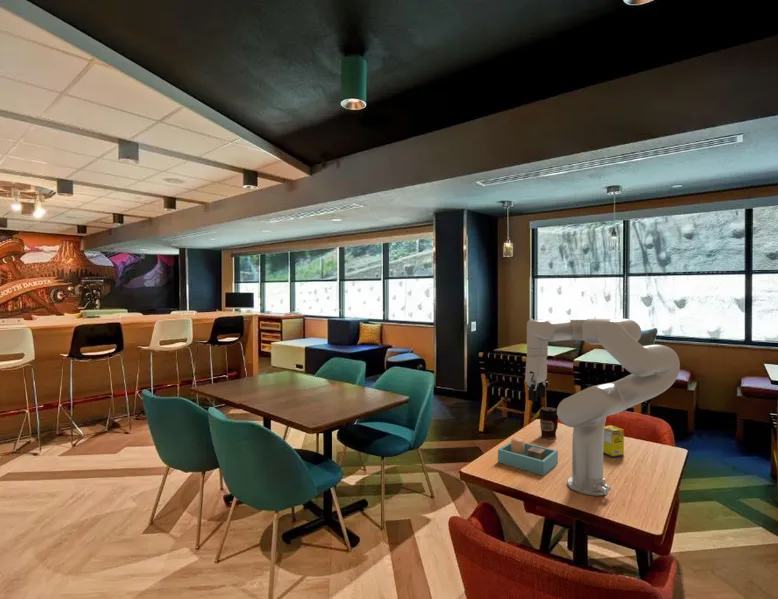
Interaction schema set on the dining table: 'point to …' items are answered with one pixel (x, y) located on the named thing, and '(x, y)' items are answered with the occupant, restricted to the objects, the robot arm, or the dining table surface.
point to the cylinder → (517, 446)
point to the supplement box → (613, 441)
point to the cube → (536, 453)
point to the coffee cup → (548, 422)
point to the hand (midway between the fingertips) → (536, 398)
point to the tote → (528, 459)
